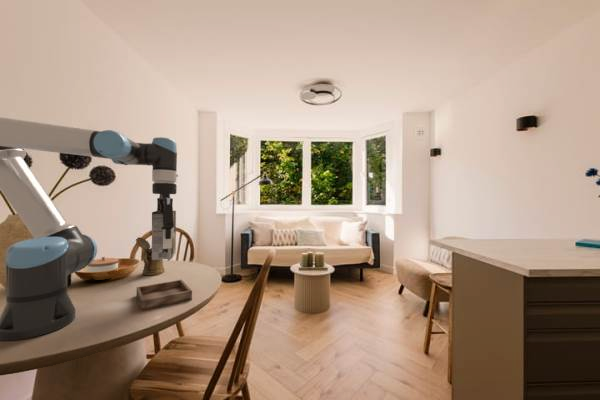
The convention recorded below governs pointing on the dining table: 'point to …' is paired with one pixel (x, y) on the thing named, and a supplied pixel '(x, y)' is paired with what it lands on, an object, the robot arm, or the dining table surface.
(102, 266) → the lidded jar
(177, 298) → the walnut tray
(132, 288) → the dining table surface
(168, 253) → the coffee box
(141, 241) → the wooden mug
